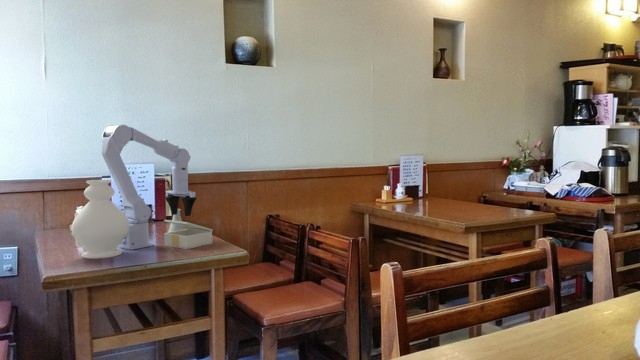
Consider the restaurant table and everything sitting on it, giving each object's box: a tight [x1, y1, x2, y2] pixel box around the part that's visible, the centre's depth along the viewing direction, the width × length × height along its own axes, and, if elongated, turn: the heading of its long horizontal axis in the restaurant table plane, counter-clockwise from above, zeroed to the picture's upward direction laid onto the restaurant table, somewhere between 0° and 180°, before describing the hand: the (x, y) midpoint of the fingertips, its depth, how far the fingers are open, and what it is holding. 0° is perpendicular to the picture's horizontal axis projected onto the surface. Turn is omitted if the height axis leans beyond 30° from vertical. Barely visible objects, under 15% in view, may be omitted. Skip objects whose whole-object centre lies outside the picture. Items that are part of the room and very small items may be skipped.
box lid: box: [163, 219, 214, 232], centre depth 190 cm, size 12×12×1 cm
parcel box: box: [163, 228, 213, 250], centre depth 190 cm, size 12×12×4 cm
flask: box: [167, 208, 186, 233], centre depth 215 cm, size 7×7×10 cm
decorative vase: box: [71, 179, 129, 260], centre depth 174 cm, size 18×18×25 cm
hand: (181, 215), depth 200 cm, fingers open, 7 cm apart
